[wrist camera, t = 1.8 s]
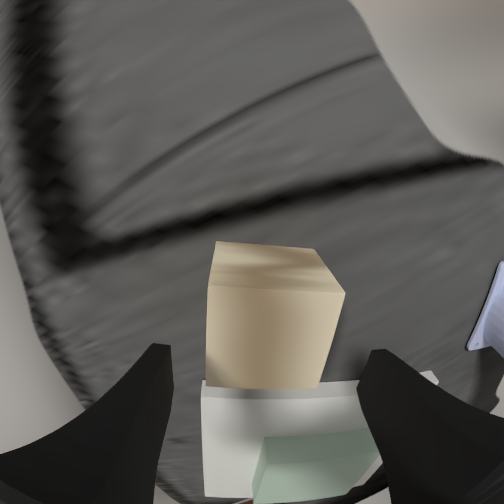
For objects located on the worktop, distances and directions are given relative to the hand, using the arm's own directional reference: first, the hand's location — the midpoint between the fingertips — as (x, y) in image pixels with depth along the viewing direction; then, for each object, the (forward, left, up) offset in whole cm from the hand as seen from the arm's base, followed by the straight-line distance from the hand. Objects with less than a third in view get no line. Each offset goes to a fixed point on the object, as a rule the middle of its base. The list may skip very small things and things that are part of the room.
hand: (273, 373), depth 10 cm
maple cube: (0, 0, -7) cm, 7 cm away
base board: (-6, +16, -7) cm, 18 cm away
